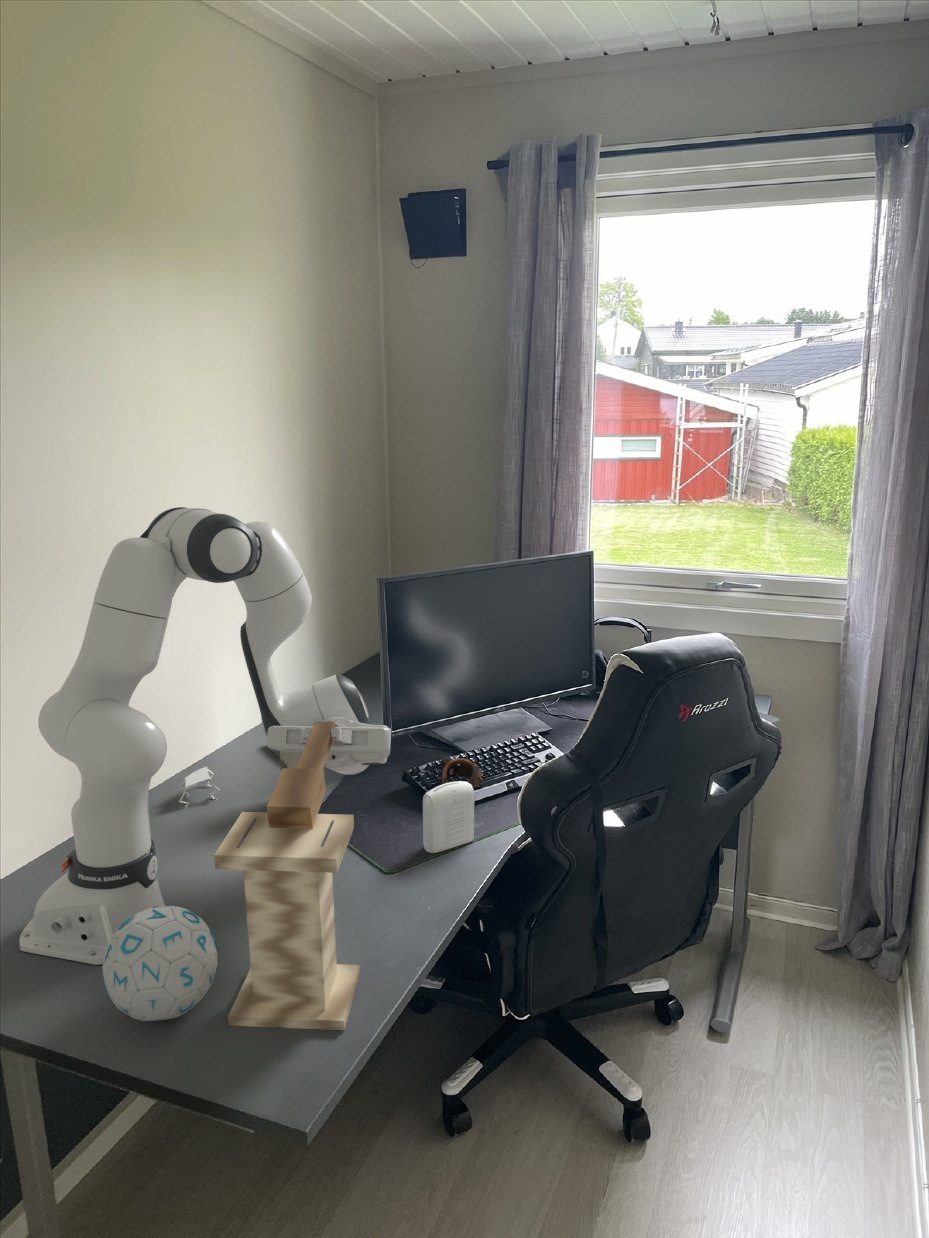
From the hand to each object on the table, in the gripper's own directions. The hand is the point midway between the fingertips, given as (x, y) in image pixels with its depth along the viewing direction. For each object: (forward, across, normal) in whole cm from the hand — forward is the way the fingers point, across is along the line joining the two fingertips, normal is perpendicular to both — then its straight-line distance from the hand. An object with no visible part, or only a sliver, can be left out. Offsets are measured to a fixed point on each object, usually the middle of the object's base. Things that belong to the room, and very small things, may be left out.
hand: (320, 733), depth 142 cm
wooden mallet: (+5, 0, +7) cm, 9 cm away
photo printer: (-36, +18, +16) cm, 43 cm away
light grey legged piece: (-51, -36, +8) cm, 63 cm away
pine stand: (+3, 0, +38) cm, 38 cm away
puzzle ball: (+6, -18, +40) cm, 44 cm away
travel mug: (-50, -14, +8) cm, 53 cm away
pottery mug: (-56, +18, +5) cm, 60 cm away
